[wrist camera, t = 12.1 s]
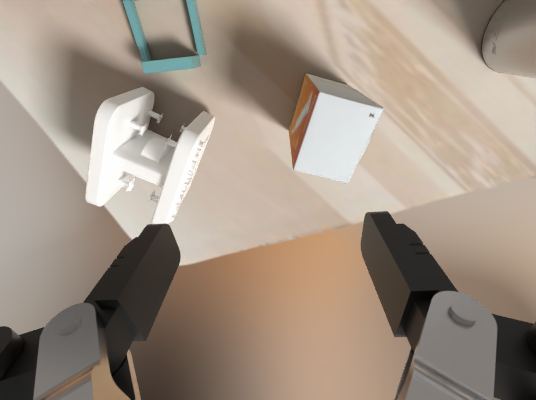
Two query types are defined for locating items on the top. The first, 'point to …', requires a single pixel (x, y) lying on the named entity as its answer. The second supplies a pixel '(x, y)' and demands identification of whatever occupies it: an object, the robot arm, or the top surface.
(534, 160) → the top surface
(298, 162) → the small box
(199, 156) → the cable organizer
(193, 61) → the teal corner cradle
